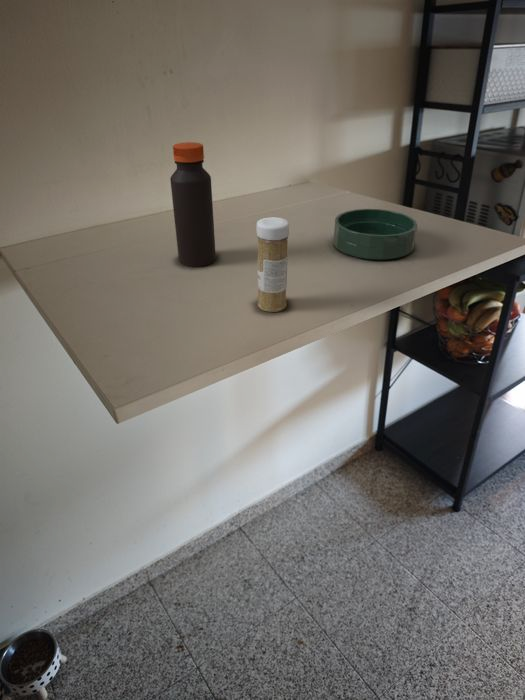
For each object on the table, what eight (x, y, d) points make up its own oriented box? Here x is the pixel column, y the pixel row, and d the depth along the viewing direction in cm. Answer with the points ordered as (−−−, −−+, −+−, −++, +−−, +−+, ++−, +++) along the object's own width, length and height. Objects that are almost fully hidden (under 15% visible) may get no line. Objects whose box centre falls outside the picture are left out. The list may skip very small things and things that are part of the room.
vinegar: (223, 260, 92) (217, 145, 81) (193, 271, 88) (182, 151, 77) (201, 250, 96) (192, 139, 85) (171, 259, 92) (158, 145, 81)
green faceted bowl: (393, 230, 104) (397, 206, 101) (426, 258, 92) (431, 232, 89) (323, 235, 102) (325, 211, 99) (347, 265, 89) (350, 238, 87)
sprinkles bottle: (259, 298, 79) (258, 215, 72) (287, 300, 79) (290, 216, 71) (255, 312, 75) (254, 226, 68) (285, 314, 75) (288, 227, 67)
